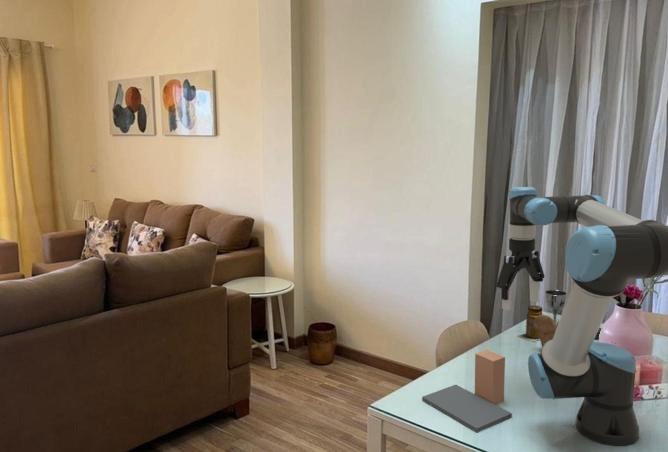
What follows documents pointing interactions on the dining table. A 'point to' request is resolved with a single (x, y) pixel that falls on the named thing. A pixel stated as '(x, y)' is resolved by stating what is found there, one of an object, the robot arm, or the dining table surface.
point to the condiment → (530, 330)
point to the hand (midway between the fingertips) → (520, 305)
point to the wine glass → (555, 301)
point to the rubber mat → (467, 408)
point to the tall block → (490, 376)
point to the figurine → (545, 328)
